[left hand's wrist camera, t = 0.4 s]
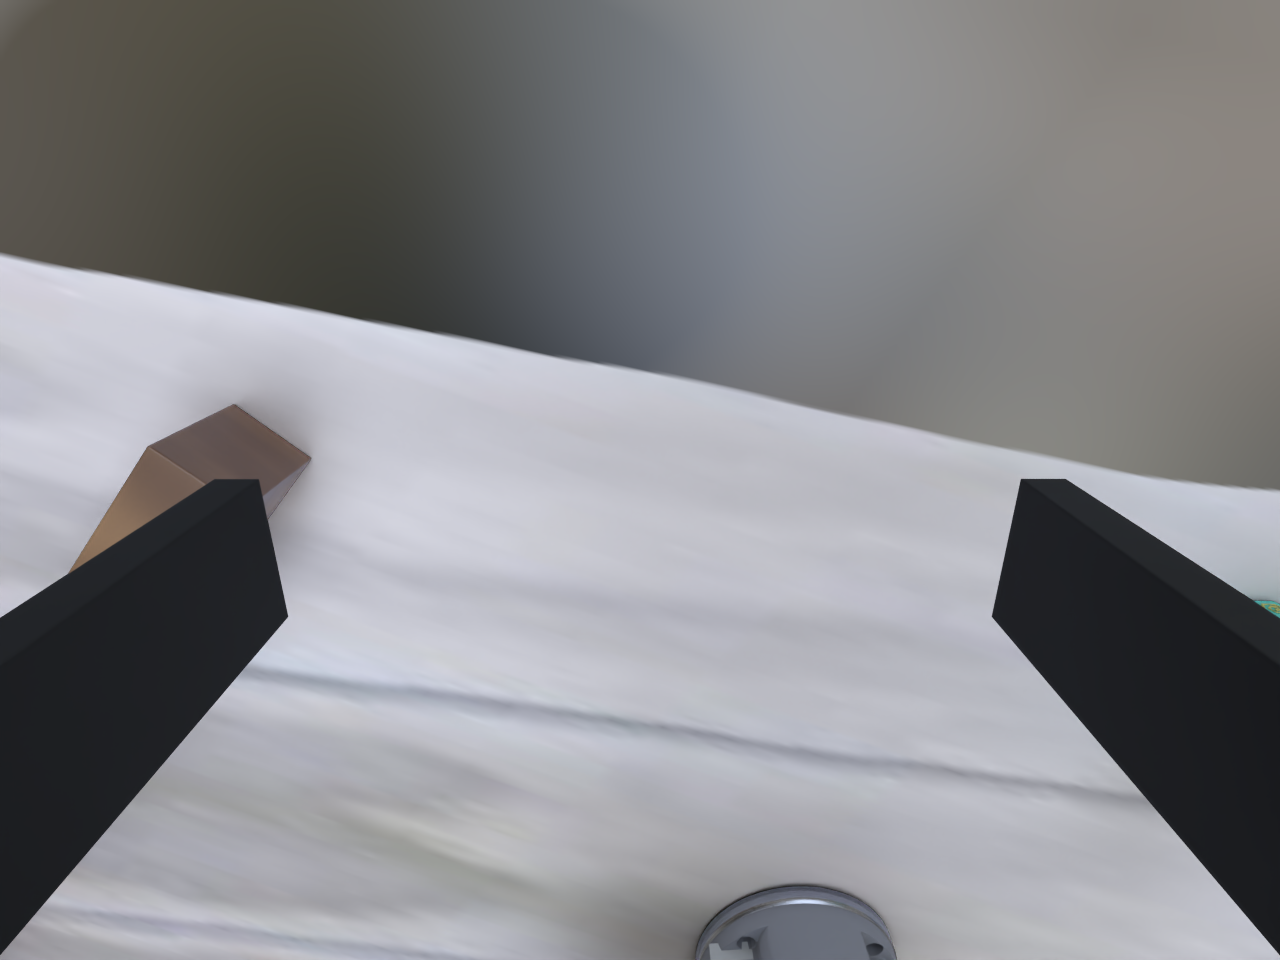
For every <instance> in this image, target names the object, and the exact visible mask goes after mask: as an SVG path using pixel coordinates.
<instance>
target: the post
mask: <svg viewBox="0 0 1280 960" xmlns="http://www.w3.org/2000/svg"><path fill="white" fill-rule="evenodd" d="M310 460H311V458H310V457H309V456H307V455H306V454H304V453H303V452H301V451H300V450H299V449H297V448H296V447H294V446H293V445H291V444H290V443H289V442H287V441H286V440H284V439H283V438H281V437H280V436H279V435H277V434H276V433H274V432H273V431H271V430H270V429H269V428H267V427H266V426H264V425H263V424H261V423H260V422H258V421H257V420H256V419H254V418H253V417H251V416H250V415H248V414H247V413H246V412H244V411H243V410H241V409H240V408H238V407H237V406H236V405H234V404H233V405H231V406H229V407H227V408H225V409H223V410H221V411H219V412H217V413H215V414H213V415H211V416H208V417H206V418H204V419H202V420H200V421H198V422H196V423H194V424H192V425H190V426H188V427H186V428H184V429H182V430H180V431H178V432H176V433H174V434H172V435H170V436H168V437H166V438H164V439H162V440H160V441H158V442H156V443H154V444H152V445H149V446H148V447H147V448H146V450H145V452H144V453H143V455H142V456H141V458H140V460H139V461H138V463H137V464H136V466H135V468H134V469H133V471H132V472H131V474H130V476H129V477H128V479H127V480H126V482H125V483H124V485H123V487H122V488H121V490H120V491H119V493H118V495H117V496H116V498H115V499H114V501H113V503H112V504H111V506H110V507H109V509H108V511H107V512H106V514H105V515H104V517H103V519H102V520H101V522H100V523H99V525H98V527H97V528H96V530H95V531H94V533H93V535H92V536H91V538H90V539H89V541H88V543H87V544H86V546H85V547H84V549H83V551H82V552H81V554H80V555H79V557H78V559H77V560H76V562H75V563H74V565H73V567H72V568H71V570H70V571H69V573H70V572H72V571H73V570H75V569H76V568H78V567H80V566H81V565H83V564H84V563H86V562H87V561H89V560H90V559H92V558H93V557H95V556H97V555H98V554H100V553H101V552H103V551H104V550H106V549H107V548H109V547H110V546H112V545H113V544H115V543H117V542H118V541H120V540H121V539H123V538H124V537H126V536H127V535H129V534H130V533H132V532H134V531H135V530H137V529H138V528H140V527H141V526H143V525H144V524H146V523H147V522H149V521H151V520H152V519H154V518H155V517H157V516H158V515H160V514H161V513H163V512H164V511H166V510H167V509H169V508H171V507H172V506H174V505H175V504H177V503H178V502H180V501H181V500H183V499H184V498H186V497H188V496H189V495H191V494H192V493H194V492H195V491H197V490H198V489H200V488H201V487H203V486H205V485H206V484H208V483H209V482H211V481H212V480H214V479H259V481H260V486H261V491H262V496H263V500H264V505H265V510H266V515H267V519H268V518H269V517H270V516H271V514H272V513H273V512H274V510H275V509H276V507H277V506H278V505H279V503H280V502H281V500H282V499H283V498H284V496H285V495H286V493H287V492H288V491H289V489H290V488H291V487H292V485H293V484H294V482H295V481H296V480H297V478H298V477H299V475H300V474H301V473H302V471H303V470H304V468H305V467H306V466H307V464H308V463H309V461H310ZM69 573H68V574H69Z"/></svg>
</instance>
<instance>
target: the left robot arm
mask: <svg viewBox="0 0 1280 960" xmlns="http://www.w3.org/2000/svg"><path fill="white" fill-rule="evenodd" d="M287 617H288V614H287V609H286V604H285V599H284V595H283V590H282V585H281V581H280V576H279V571H278V566H277V562H276V557H275V552H274V548H273V543H272V538H271V533H270V529H269V524H268V519H267V515H266V510H265V505H264V500H263V496H262V491H261V486H260V481H259V479H214V480H212V481H211V482H209V483H208V484H206V485H205V486H203V487H201V488H200V489H198V490H197V491H195V492H194V493H192V494H191V495H189V496H188V497H186V498H184V499H183V500H181V501H180V502H178V503H177V504H175V505H174V506H172V507H171V508H169V509H167V510H166V511H164V512H163V513H161V514H160V515H158V516H157V517H155V518H154V519H152V520H151V521H149V522H147V523H146V524H144V525H143V526H141V527H140V528H138V529H137V530H135V531H134V532H132V533H130V534H129V535H127V536H126V537H124V538H123V539H121V540H120V541H118V542H117V543H115V544H113V545H112V546H110V547H109V548H107V549H106V550H104V551H103V552H101V553H100V554H98V555H97V556H95V557H93V558H92V559H90V560H89V561H87V562H86V563H84V564H83V565H81V566H80V567H78V568H76V569H75V570H73V571H72V572H70V573H69V574H67V575H66V576H64V577H63V578H61V579H59V580H58V581H56V582H55V583H53V584H52V585H50V586H49V587H47V588H46V589H44V590H43V591H41V592H39V593H38V594H36V595H35V596H33V597H32V598H30V599H29V600H27V601H26V602H24V603H22V604H21V605H19V606H18V607H16V608H15V609H13V610H12V611H10V612H9V613H7V614H5V615H4V616H2V617H1V618H0V955H1V954H2V952H3V951H4V950H5V949H6V948H7V946H8V945H9V944H10V943H11V942H12V941H13V939H14V938H15V937H16V936H17V935H18V934H19V932H20V931H21V930H22V929H23V928H24V927H25V925H26V924H27V923H28V922H29V921H30V919H31V918H32V917H33V916H34V915H35V914H36V912H37V911H38V910H39V909H40V908H41V907H42V905H43V904H44V903H45V902H46V901H47V899H48V898H49V897H50V896H51V895H52V894H53V892H54V891H55V890H56V889H57V888H58V887H59V885H60V884H61V883H62V882H63V881H64V880H65V878H66V877H67V876H68V875H69V874H70V872H71V871H72V870H73V869H74V868H75V867H76V865H77V864H78V863H79V862H80V861H81V860H82V858H83V857H84V856H85V855H86V854H87V852H88V851H89V850H90V849H91V848H92V847H93V845H94V844H95V843H96V842H97V841H98V840H99V838H100V837H101V836H102V835H103V834H104V833H105V831H106V830H107V829H108V828H109V827H110V825H111V824H112V823H113V822H114V821H115V820H116V818H117V817H118V816H119V815H120V814H121V813H122V811H123V810H124V809H125V808H126V807H127V805H128V804H129V803H130V802H131V801H132V800H133V798H134V797H135V796H136V795H137V794H138V793H139V791H140V790H141V789H142V788H143V787H144V786H145V784H146V783H147V782H148V781H149V780H150V778H151V777H152V776H153V775H154V774H155V773H156V771H157V770H158V769H159V768H160V767H161V766H162V764H163V763H164V762H165V761H166V760H167V758H168V757H169V756H170V755H171V754H172V753H173V751H174V750H175V749H176V748H177V747H178V746H179V744H180V743H181V742H182V741H183V740H184V738H185V737H186V736H187V735H188V734H189V733H190V731H191V730H192V729H193V728H194V727H195V726H196V724H197V723H198V722H199V721H200V720H201V719H202V717H203V716H204V715H205V714H206V713H207V711H208V710H209V709H210V708H211V707H212V706H213V704H214V703H215V702H216V701H217V700H218V699H219V697H220V696H221V695H222V694H223V693H224V691H225V690H226V689H227V688H228V687H229V686H230V684H231V683H232V682H233V681H234V680H235V679H236V677H237V676H238V675H239V674H240V673H241V672H242V670H243V669H244V668H245V667H246V666H247V664H248V663H249V662H250V661H251V660H252V659H253V657H254V656H255V655H256V654H257V653H258V652H259V650H260V649H261V648H262V647H263V646H264V644H265V643H266V642H267V641H268V640H269V639H270V637H271V636H272V635H273V634H274V633H275V632H276V630H277V629H278V628H279V627H280V626H281V625H282V623H283V622H284V621H285V620H286V619H287ZM992 617H993V619H994V620H995V621H996V622H997V623H998V625H999V626H1000V627H1001V628H1002V629H1003V630H1004V632H1005V633H1006V634H1007V635H1008V636H1009V637H1010V639H1011V640H1012V641H1013V642H1014V643H1015V644H1016V646H1017V647H1018V648H1019V649H1020V650H1021V652H1022V653H1023V654H1024V655H1025V656H1026V657H1027V659H1028V660H1029V661H1030V662H1031V663H1032V664H1033V666H1034V667H1035V668H1036V669H1037V670H1038V672H1039V673H1040V674H1041V675H1042V676H1043V677H1044V679H1045V680H1046V681H1047V682H1048V683H1049V684H1050V686H1051V687H1052V688H1053V689H1054V690H1055V691H1056V693H1057V694H1058V695H1059V696H1060V697H1061V699H1062V700H1063V701H1064V702H1065V703H1066V704H1067V706H1068V707H1069V708H1070V709H1071V710H1072V711H1073V713H1074V714H1075V715H1076V716H1077V717H1078V719H1079V720H1080V721H1081V722H1082V723H1083V724H1084V726H1085V727H1086V728H1087V729H1088V730H1089V731H1090V733H1091V734H1092V735H1093V736H1094V737H1095V738H1096V740H1097V741H1098V742H1099V743H1100V744H1101V746H1102V747H1103V748H1104V749H1105V750H1106V751H1107V753H1108V754H1109V755H1110V756H1111V757H1112V758H1113V760H1114V761H1115V762H1116V763H1117V764H1118V766H1119V767H1120V768H1121V769H1122V770H1123V771H1124V773H1125V774H1126V775H1127V776H1128V777H1129V778H1130V780H1131V781H1132V782H1133V783H1134V784H1135V786H1136V787H1137V788H1138V789H1139V790H1140V791H1141V793H1142V794H1143V795H1144V796H1145V797H1146V798H1147V800H1148V801H1149V802H1150V803H1151V804H1152V805H1153V807H1154V808H1155V809H1156V810H1157V811H1158V813H1159V814H1160V815H1161V816H1162V817H1163V818H1164V820H1165V821H1166V822H1167V823H1168V824H1169V825H1170V827H1171V828H1172V829H1173V830H1174V831H1175V833H1176V834H1177V835H1178V836H1179V837H1180V838H1181V840H1182V841H1183V842H1184V843H1185V844H1186V845H1187V847H1188V848H1189V849H1190V850H1191V851H1192V852H1193V854H1194V855H1195V856H1196V857H1197V858H1198V860H1199V861H1200V862H1201V863H1202V864H1203V865H1204V867H1205V868H1206V869H1207V870H1208V871H1209V872H1210V874H1211V875H1212V876H1213V877H1214V878H1215V880H1216V881H1217V882H1218V883H1219V884H1220V885H1221V887H1222V888H1223V889H1224V890H1225V891H1226V892H1227V894H1228V895H1229V896H1230V897H1231V898H1232V899H1233V901H1234V902H1235V903H1236V904H1237V905H1238V907H1239V908H1240V909H1241V910H1242V911H1243V912H1244V914H1245V915H1246V916H1247V917H1248V918H1249V919H1250V921H1251V922H1252V923H1253V924H1254V925H1255V927H1256V928H1257V929H1258V930H1259V931H1260V932H1261V934H1262V935H1263V936H1264V937H1265V938H1266V939H1267V941H1268V942H1269V943H1270V944H1271V945H1272V946H1273V948H1274V949H1275V950H1276V951H1277V952H1278V954H1279V955H1280V618H1279V617H1278V616H1276V615H1275V614H1273V613H1271V612H1270V611H1268V610H1267V609H1265V608H1264V607H1262V606H1261V605H1259V604H1258V603H1256V602H1254V601H1253V600H1251V599H1250V598H1248V597H1247V596H1245V595H1244V594H1242V593H1241V592H1239V591H1237V590H1236V589H1234V588H1233V587H1231V586H1230V585H1228V584H1227V583H1225V582H1224V581H1222V580H1221V579H1219V578H1217V577H1216V576H1214V575H1213V574H1211V573H1210V572H1208V571H1207V570H1205V569H1204V568H1202V567H1200V566H1199V565H1197V564H1196V563H1194V562H1193V561H1191V560H1190V559H1188V558H1187V557H1185V556H1183V555H1182V554H1180V553H1179V552H1177V551H1176V550H1174V549H1173V548H1171V547H1170V546H1168V545H1167V544H1165V543H1163V542H1162V541H1160V540H1159V539H1157V538H1156V537H1154V536H1153V535H1151V534H1150V533H1148V532H1146V531H1145V530H1143V529H1142V528H1140V527H1139V526H1137V525H1136V524H1134V523H1133V522H1131V521H1129V520H1128V519H1126V518H1125V517H1123V516H1122V515H1120V514H1119V513H1117V512H1116V511H1114V510H1113V509H1111V508H1109V507H1108V506H1106V505H1105V504H1103V503H1102V502H1100V501H1099V500H1097V499H1096V498H1094V497H1092V496H1091V495H1089V494H1088V493H1086V492H1085V491H1083V490H1082V489H1080V488H1079V487H1077V486H1075V485H1074V484H1072V483H1071V482H1069V481H1068V480H1066V479H1021V481H1020V486H1019V491H1018V496H1017V500H1016V505H1015V510H1014V515H1013V519H1012V524H1011V529H1010V533H1009V538H1008V543H1007V548H1006V552H1005V557H1004V562H1003V566H1002V571H1001V576H1000V581H999V585H998V590H997V595H996V599H995V604H994V609H993V614H992ZM696 960H897V957H896V952H895V949H894V946H893V944H892V941H891V938H890V935H889V932H888V929H887V927H886V926H885V924H884V922H883V921H882V919H881V918H880V917H879V916H878V914H877V913H876V912H875V911H874V910H872V909H871V908H870V907H869V906H867V905H866V904H865V903H863V902H862V901H860V900H858V899H856V898H854V897H852V896H850V895H847V894H845V893H842V892H839V891H835V890H831V889H826V888H820V887H810V886H794V887H783V888H776V889H771V890H767V891H763V892H759V893H756V894H754V895H751V896H748V897H746V898H744V899H741V900H740V901H738V902H736V903H734V904H732V905H731V906H729V907H728V908H726V909H725V910H723V911H722V912H721V913H720V914H718V915H717V916H716V917H715V918H714V919H713V920H712V921H711V922H710V924H709V925H708V926H707V928H706V929H705V930H704V932H703V934H702V936H701V938H700V940H699V943H698V946H697V950H696Z"/></svg>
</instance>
